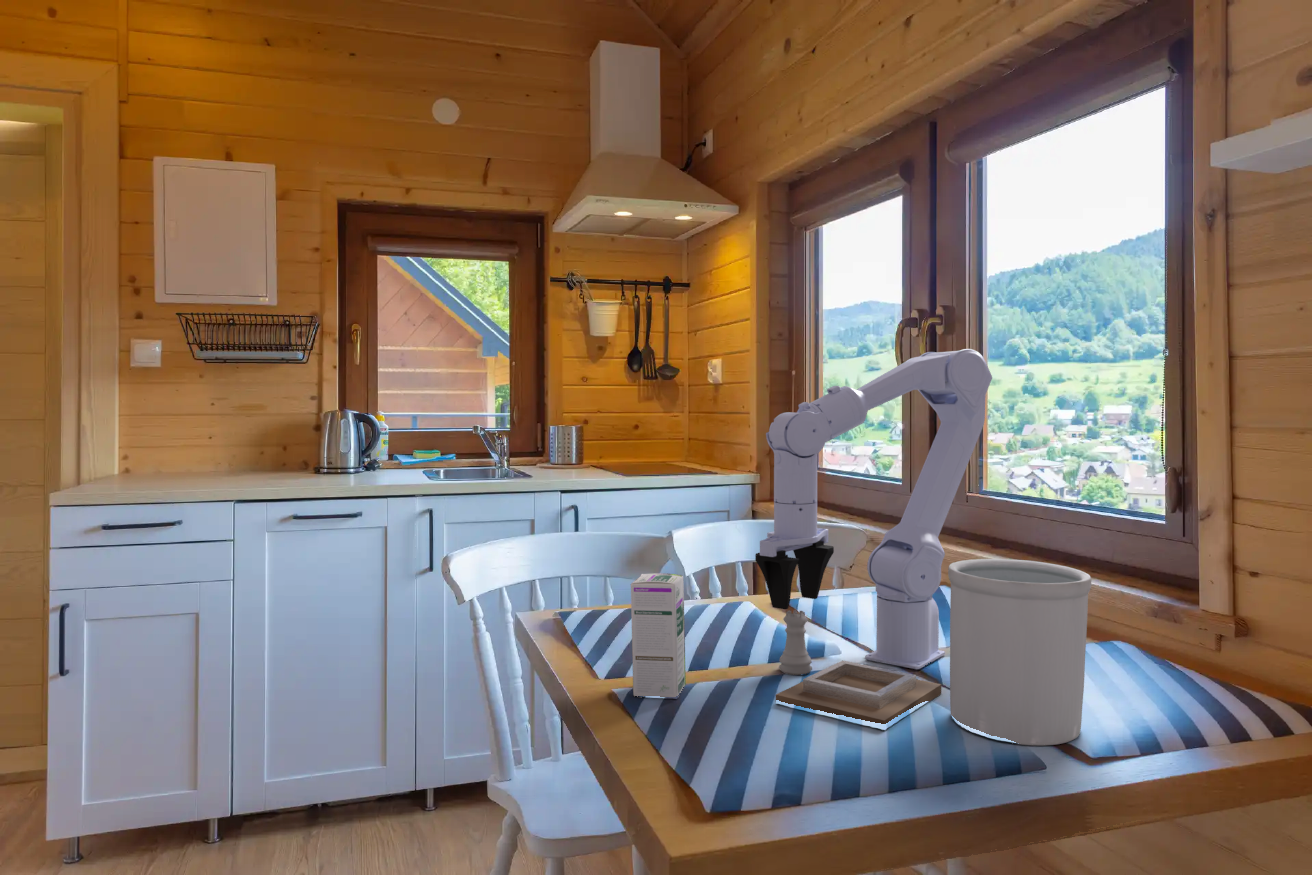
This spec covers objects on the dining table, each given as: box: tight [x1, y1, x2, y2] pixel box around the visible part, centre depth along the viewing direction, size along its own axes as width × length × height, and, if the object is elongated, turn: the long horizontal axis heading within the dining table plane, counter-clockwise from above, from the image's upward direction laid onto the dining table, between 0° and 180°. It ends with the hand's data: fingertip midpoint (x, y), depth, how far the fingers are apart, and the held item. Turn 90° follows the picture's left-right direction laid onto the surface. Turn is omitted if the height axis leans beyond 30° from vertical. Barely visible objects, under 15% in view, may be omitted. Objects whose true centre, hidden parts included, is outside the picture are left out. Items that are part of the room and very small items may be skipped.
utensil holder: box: [947, 558, 1092, 746], centre depth 101 cm, size 15×15×18 cm
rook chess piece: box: [778, 609, 813, 676], centre depth 122 cm, size 4×4×8 cm
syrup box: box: [630, 572, 687, 698], centre depth 113 cm, size 6×6×14 cm
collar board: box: [775, 660, 942, 724], centre depth 110 cm, size 16×14×3 cm
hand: (795, 602), depth 121 cm, fingers open, 7 cm apart
